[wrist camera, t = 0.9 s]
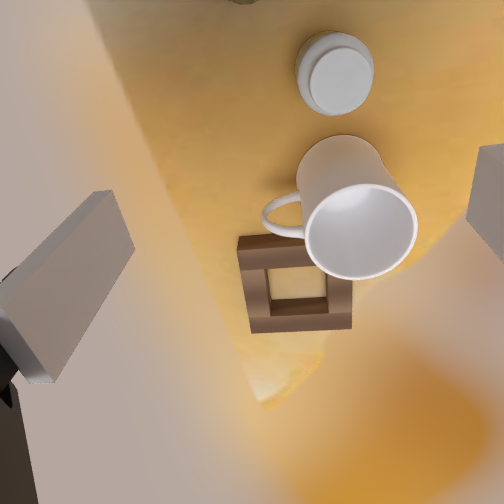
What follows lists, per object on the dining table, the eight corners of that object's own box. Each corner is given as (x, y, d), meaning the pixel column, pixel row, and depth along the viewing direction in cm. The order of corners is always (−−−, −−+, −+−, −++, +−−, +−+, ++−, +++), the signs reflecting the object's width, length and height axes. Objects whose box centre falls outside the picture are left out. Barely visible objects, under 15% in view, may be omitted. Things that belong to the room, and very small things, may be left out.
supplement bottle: (288, 42, 31) (290, 49, 23) (352, 21, 30) (379, 20, 22) (301, 107, 34) (308, 134, 25) (361, 90, 32) (387, 112, 24)
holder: (239, 236, 41) (236, 250, 39) (348, 227, 40) (352, 241, 37) (253, 316, 47) (251, 333, 45) (347, 312, 46) (351, 329, 43)
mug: (266, 218, 40) (260, 285, 30) (261, 139, 35) (253, 185, 25) (378, 214, 39) (412, 282, 28) (387, 131, 34) (431, 177, 24)
